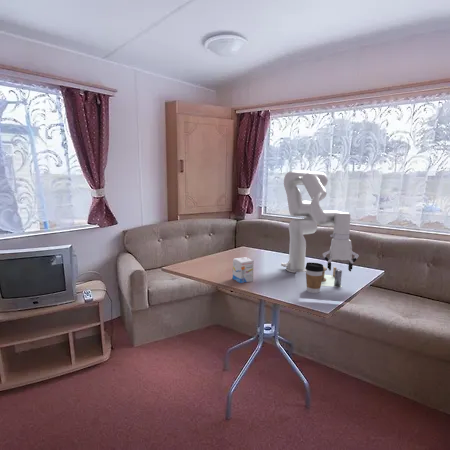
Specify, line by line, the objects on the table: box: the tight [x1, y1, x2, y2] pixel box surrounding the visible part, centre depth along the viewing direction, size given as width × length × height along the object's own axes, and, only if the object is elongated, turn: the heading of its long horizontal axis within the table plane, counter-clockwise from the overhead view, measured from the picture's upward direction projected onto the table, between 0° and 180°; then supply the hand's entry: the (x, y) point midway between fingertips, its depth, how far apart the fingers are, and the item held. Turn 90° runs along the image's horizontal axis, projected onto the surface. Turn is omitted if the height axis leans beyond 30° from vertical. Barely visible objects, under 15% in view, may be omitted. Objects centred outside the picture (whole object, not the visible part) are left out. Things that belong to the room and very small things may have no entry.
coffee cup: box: [305, 261, 324, 294], centre depth 150 cm, size 8×8×15 cm
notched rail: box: [324, 266, 338, 277], centre depth 173 cm, size 11×2×5 cm, turn 80°
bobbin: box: [321, 266, 328, 282], centre depth 166 cm, size 6×6×6 cm
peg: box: [334, 269, 343, 288], centre depth 158 cm, size 3×3×8 cm
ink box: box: [232, 256, 254, 284], centre depth 169 cm, size 9×8×12 cm
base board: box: [321, 274, 343, 288], centre depth 166 cm, size 12×19×2 cm, turn 170°
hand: (339, 270), depth 156 cm, fingers open, 9 cm apart
